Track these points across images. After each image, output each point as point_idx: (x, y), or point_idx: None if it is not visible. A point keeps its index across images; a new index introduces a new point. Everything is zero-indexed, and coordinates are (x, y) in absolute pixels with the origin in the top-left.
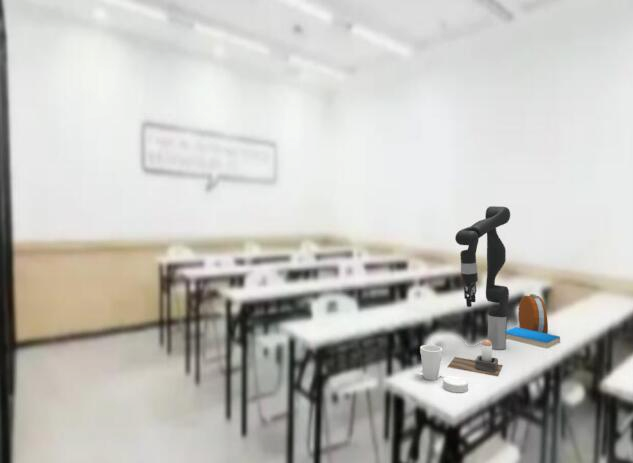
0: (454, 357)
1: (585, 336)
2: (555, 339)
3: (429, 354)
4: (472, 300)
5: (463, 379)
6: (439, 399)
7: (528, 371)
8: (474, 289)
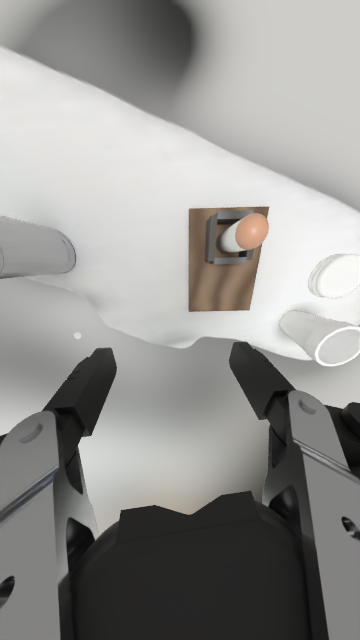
0: (192, 311)
1: None
2: None
3: (356, 341)
4: (110, 370)
5: (336, 265)
6: None
7: (183, 136)
8: (62, 601)
